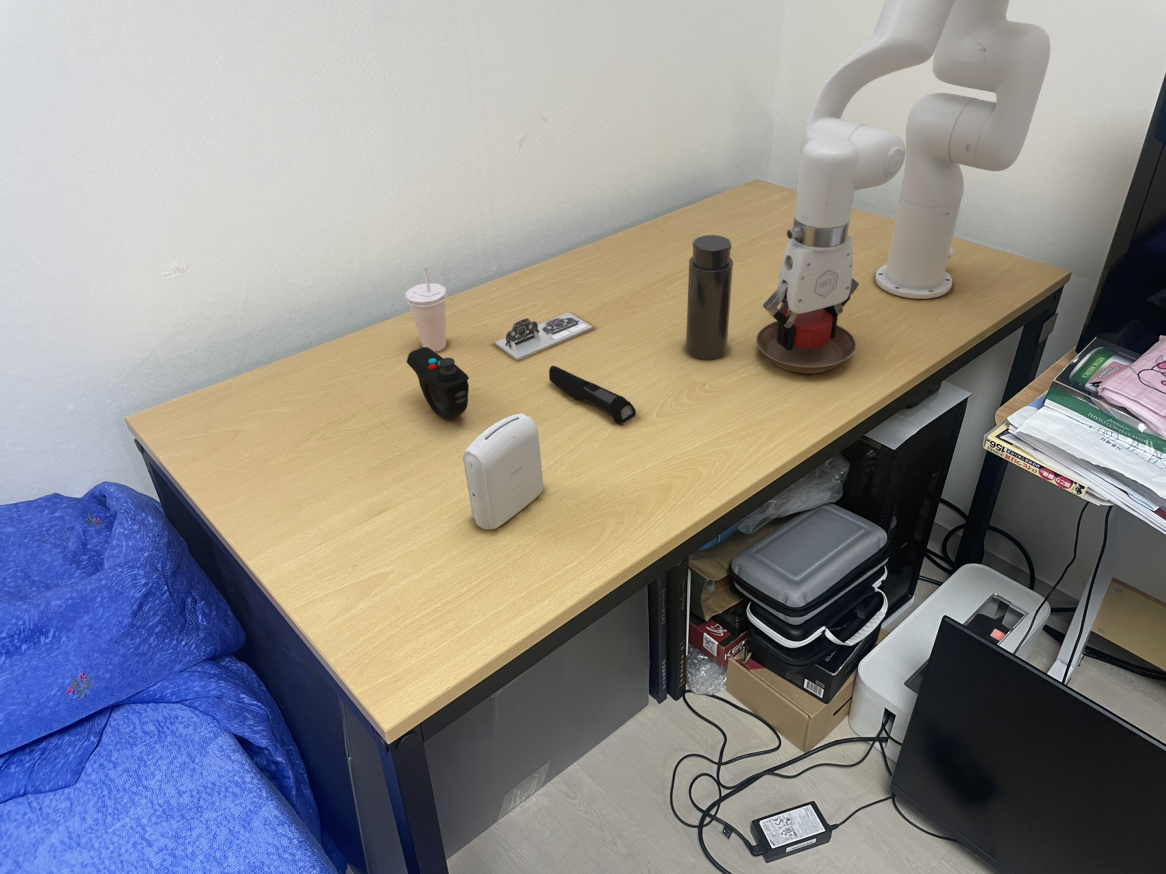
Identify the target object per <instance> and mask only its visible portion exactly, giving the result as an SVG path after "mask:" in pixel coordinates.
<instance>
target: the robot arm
mask: <svg viewBox="0 0 1166 874" xmlns="http://www.w3.org/2000/svg"><path fill="white" fill-rule="evenodd" d="M1009 4H1010V0H885V1H884V3H883V6H882V8H881V11H880V14H879V16H878V19H877V22H876V24H875V27H874V30H873V32H872V34H871V36H870V38H868V40H867V41H866V43H864V44H863V45H862V46H860V47H859V48H858V49H856V50H855V51H854V52H853V53H851V54H850V55H849V56H848V57H846V59H844V60H843V61H842V62H841V63H840V64H839V65H838V66H837V67H836V68H835V69H834V71H832V73H831V74H830V75H828V77H827V78H826V79H825V81H824V82H823V83H822V85H821V87H820V89H818V92H817V94H816V96H815V98H814V100H813V103H812V106H811V109H810V111H809V114H808V116H807V119H806V123H805V125H804V128H803V132H802V135H801V140H800V145H799V154H800V163H799V172H798V181H797V190H796V198H795V207H794V217H793V224H792V225H793V226H792V228H790V229H788V230H787V231H786V236H787V239H788V241H787V244H786V247H785V249H784V250H785V251H784V254H783V257H782V261H781V266H780V270H779V276H778V284H777V289H776V290H775V291H774V292H773V293H772V294H771V295H770V297H768V299H766V300H765V301H764V303H763V304H762V307H763V309H764V310H765V311H766V312H767V313H768V314H769V315H770V316H771V317H772V318H773V319H774V320H775V321H778V322H779V323H778V332H777V342H778V343H779V344H780V345H781V346H782V347H784V348H785V349H786V350H787V351H790V350H792V349H793V342H794V334H795V327H794V326H792V324H793V323H794V321H795V319H796V317H797V315H798V314H802V313H807V312H810V311H814V310H818V309H824V310H826V311H827V312H829V313H830V314H831V315H832V318H833V321H832V330H831V336H830V339H832V338H834V337H835V332H836V325H838V319H839V315H841V314H842V313H843V311H844V307H845V305H846V304H847V303H848V302H849V301H850V299H851V296H853V294H854V292H855V291H856V290H857V289H858V287H859V286H860V283H859V282H858V281H856V279H855V278H853V266H854V265H853V263H854V252H853V250H854V249H853V242H852V237H851V236H850V235H849V228H850V221H851V216H852V209H853V201H854V195H855V192H856V191H859V190H863V189H870V188H875V187H879V186H881V185H884V184H886V183H888V182H889V181H891V180H892V179H893V178H894V177H895V176H897V174H898V173H899V172H900V170H901V168H902V167H903V164H904V168H903V169H904V170H903V176H902V183H901V189H900V194H899V198H898V204H897V208H896V214H895V220H894V225H893V230H892V231H893V232H892V235H891V242H890V247H889V252H888V257H887V261H886V262H887V263H885V264H883V265H882V266H880V267H879V268H878V269H877V270H876V273H875V282H876V284H877V286H878V287H880V289H882V290H884V291H885V292H887V293H889V294H892V295H894V296H898V297H902V298H906V299H914V300H916V299H917V300H928V299H934V298H938V297H942V296H944V295H945V294H948V292H950V291H951V288H952V286H953V285H952V284H953V279H952V277H951V275H950V274H949V273H948V272H947V271H946V269H947V268H946V267H947V264H948V260H950V259H951V258H953V257H954V255H955V251H954V249H953V248H952V243H953V238H954V234H955V229H956V225H957V220H958V216H959V213H960V208H961V203H962V199H963V195H964V191H965V190H964V189H965V182H964V176H963V171H962V168H961V166H960V165H962V166H967V167H969V168H974V169H978V170H983V171H989V172H1002V171H1005V170H1007V169H1009V168H1010V167H1011V166H1012V165H1014V163H1015V162H1016V161H1017V159H1018V157H1019V156H1020V154H1021V152H1022V150H1023V147H1024V145H1025V142H1026V139H1027V136H1028V133H1029V129H1030V126H1031V123H1032V119H1033V117H1034V113H1035V109H1036V107H1037V103H1038V100H1039V97H1040V93H1041V90H1042V87H1043V84H1044V80H1045V77H1046V74H1047V70H1048V66H1049V64H1050V63H1049V62H1050V57H1051V40H1050V36H1049V34H1048V32H1047V31H1046V30H1045V29H1044V28H1043V27H1041V26H1039V25H1036V24H1033V23H1028V22H1020V21H1013V20H1008V19H1007V12H1008V9H1009ZM932 57H933V58H932ZM931 58H932V73H933V75H934V77H935V78H936V79H938V80H939V81H941V82H943V83H946V84H948V85H952V86H957V87H962V88H967V89H973V90H978V91H984V92H989V93H994V94H995V97H996V101H990V100H985V99H979V98H978V97H977V98H976V97H971V96H966V95H960V94H956V93H950V92H949V93H948V92H936V93H934V92H933V93H929V94H926V95H924V96H922V97H921V98H920V99H918V100H917V101H916V102H915V103H914V105H913V106H912V107H911V109H910V111H909V113H908V116H907V120H906V124H905V125H906V126H905V142H904V141H903V139H902V138H901V137H900V136H899V135H898V134H897V133H896V132H893V131H891V130H888V129H886V128H881V127H876V126H873V125H868V124H864V123H860V122H855V121H851V120H847V119H842V117H843V115H844V112H845V110H846V107H847V106H848V105H849V103H850V101H851V99H853V97H854V96H855V95H856V94H857V93H858V92H859V91H860V90H861V89H863V87H865V86H866V85H868V84H869V83H871V82H873V81H875V80H877V79H879V78H881V77H884V76H887V75H889V74H892V73H896V72H899V71H902V70H905V69H909V68H913V67H916V66H919V65H922V64H925V63H926V62H928V61H929V60H930V59H931ZM779 305H780V307H779ZM778 307H779V308H778ZM788 310H791V311H790V313H789V314H788V316H787V317H786V316H785V315H786V313H787V311H788Z"/></svg>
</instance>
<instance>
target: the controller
mask: <svg viewBox="0 0 1166 874" xmlns="http://www.w3.org/2000/svg"><path fill="white" fill-rule="evenodd" d="M455 362H456V361H455V359H454V358H452V357H442V356H441V355H440V354H438V353H437V352H434V351H433V350H431V349H430V348H428V347H423V346H422V347H420V348H418V349H415V350H413V351H410V353H408V355H407V359H406V364H407V365H408V366H409V367H410V368H411V369H412V370H413V372H414V373H415V374H416V376H417V379H418V383H419V387H420V389H421V392H422V394H423V396H424V399H425V401H426V402H427V404H428V405H429V407H430V408H431V410H432V411H433V412H434V414H435V415H437V416H438V417H440V418H442V419H444V420H451V419H454V418H456V417H458V416H460V415H462V414H463V413H464V412H465V411H466V410H467V408H468V404H469V389H470V386H469V381H468V380H469V379H470V378H469V375H468V374H467V373H466V372H465V371H464V370H462V368H460V367H459V366H458V365H457V364H455Z"/></svg>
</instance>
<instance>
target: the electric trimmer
mask: <svg viewBox="0 0 1166 874" xmlns="http://www.w3.org/2000/svg"><path fill="white" fill-rule="evenodd" d="M548 369H549V370H548V378H549V381H550V382H551V384H553V385H555V386H556V387H557V388H558V389H560V390H561V391H562V392H564V393H565V394H566V395H568V396H569V397H570V398H572V399H574V400H575V401H585V402H586V403H588V404H590V405H592V406H594V407H595V408H597V409H599V410H601V411H602V412H604V413H606V414H608V415H609V416H611V417H612V420H613V421H614V422H615V423H616V424H617V425H618V424H619V425H620V424H622V425H623V426H624V425H626V424H627V423H629V422H630V421H632V420H633V419H635V417H636V414H637V411H636V408H635V407H634V405H633V404H632V403H631V401H629V400H628V399H626V398H625V397H624V396H623V395H619V394H617V393H615V392H613V391H611V390H609V389H606V388H604V387H602V386H600V385H598V384H595V383H593V382H591V381H588V380H586V379H584V378H582V377H580V376H578V375H575V374H573V373H571V372H569V371H567V370H565V369H563V368H561V367H559V366H556V365H551V366H550V367H549V368H548Z"/></svg>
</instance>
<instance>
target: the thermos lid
mask: <svg viewBox="0 0 1166 874" xmlns="http://www.w3.org/2000/svg"><path fill="white" fill-rule="evenodd" d="M790 311H791V310H790V309H788V311H787V313H786V315H785V316H786V317H787V316H788V314H789V313H790ZM832 321H833V318H832V315H831V314H830V313H829V312H827V311H826V310H824V309H818V310H814V311H810V312H807V313H802V314H798V315H797V317H796V319H795V321H794V323H793V324H792V326H794V327H795V334H794V342H793V346H795V347H798V348H803V349H815V348H820V347H823V346H825V345H826V344H827V343H828V342H829V341H830V336H831V330H832Z"/></svg>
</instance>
